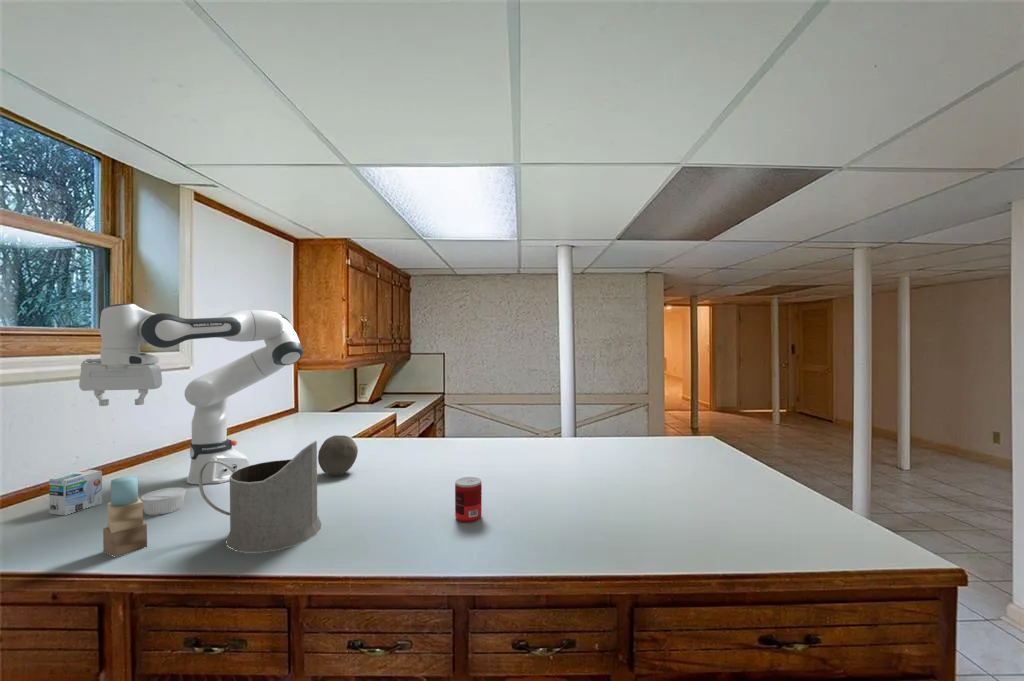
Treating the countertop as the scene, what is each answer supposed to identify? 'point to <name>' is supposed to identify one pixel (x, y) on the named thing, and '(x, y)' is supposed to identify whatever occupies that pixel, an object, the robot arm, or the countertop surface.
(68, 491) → the light bulb box
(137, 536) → the walnut block
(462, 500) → the canned food
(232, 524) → the pitcher
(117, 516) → the oak block
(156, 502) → the ramekin
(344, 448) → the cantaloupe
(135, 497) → the teal tapered block
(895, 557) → the countertop surface
